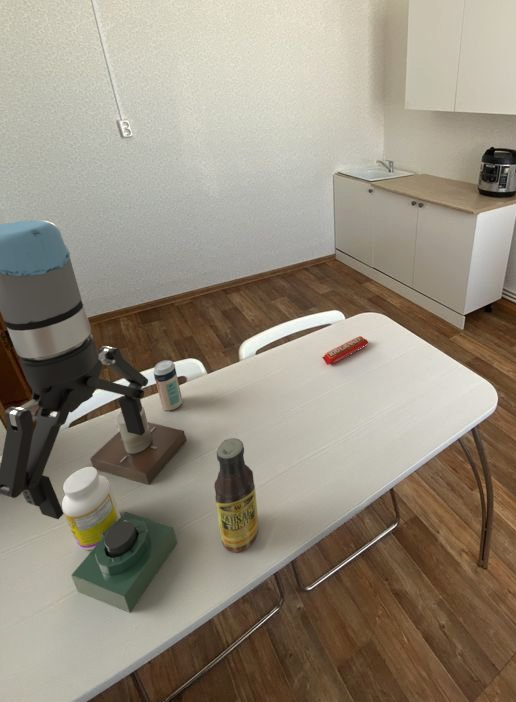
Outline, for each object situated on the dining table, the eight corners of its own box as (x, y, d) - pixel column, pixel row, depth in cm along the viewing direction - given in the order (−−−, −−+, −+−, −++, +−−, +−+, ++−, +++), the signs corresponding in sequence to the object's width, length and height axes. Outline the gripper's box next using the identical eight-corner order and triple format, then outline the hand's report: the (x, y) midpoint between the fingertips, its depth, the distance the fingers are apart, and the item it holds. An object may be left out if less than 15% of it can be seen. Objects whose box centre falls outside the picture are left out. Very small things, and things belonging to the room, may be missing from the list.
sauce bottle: (223, 562, 62) (205, 473, 56) (220, 526, 68) (203, 440, 61) (264, 544, 65) (251, 457, 58) (258, 511, 70) (245, 427, 63)
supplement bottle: (82, 521, 69) (62, 469, 64) (124, 507, 71) (107, 455, 67) (72, 559, 63) (49, 504, 59) (118, 542, 66) (100, 488, 61)
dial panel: (93, 469, 79) (89, 457, 78) (135, 428, 89) (132, 417, 88) (149, 485, 75) (145, 473, 74) (186, 441, 85) (184, 430, 84)
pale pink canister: (169, 397, 98) (160, 358, 94) (186, 398, 98) (178, 359, 94) (157, 411, 94) (147, 370, 90) (175, 412, 93) (166, 372, 89)
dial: (139, 456, 78) (130, 424, 75) (119, 450, 80) (110, 419, 77) (157, 436, 83) (149, 406, 80) (138, 432, 84) (130, 402, 81)
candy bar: (328, 368, 108) (328, 359, 107) (321, 362, 111) (320, 353, 110) (370, 345, 118) (370, 337, 117) (362, 340, 121) (362, 332, 120)
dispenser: (77, 592, 59) (66, 566, 57) (130, 527, 68) (122, 503, 66) (130, 613, 56) (120, 587, 54) (177, 542, 65) (171, 518, 63)
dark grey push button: (101, 552, 59) (97, 544, 58) (122, 527, 62) (119, 518, 62) (122, 560, 58) (118, 551, 57) (142, 533, 61) (140, 525, 61)
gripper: (116, 295, 60) (144, 403, 68) (-97, 410, 38) (-19, 552, 45) (155, 301, 58) (180, 410, 66) (-44, 424, 36) (28, 571, 43)
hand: (99, 468), depth 55 cm, fingers open, 13 cm apart
